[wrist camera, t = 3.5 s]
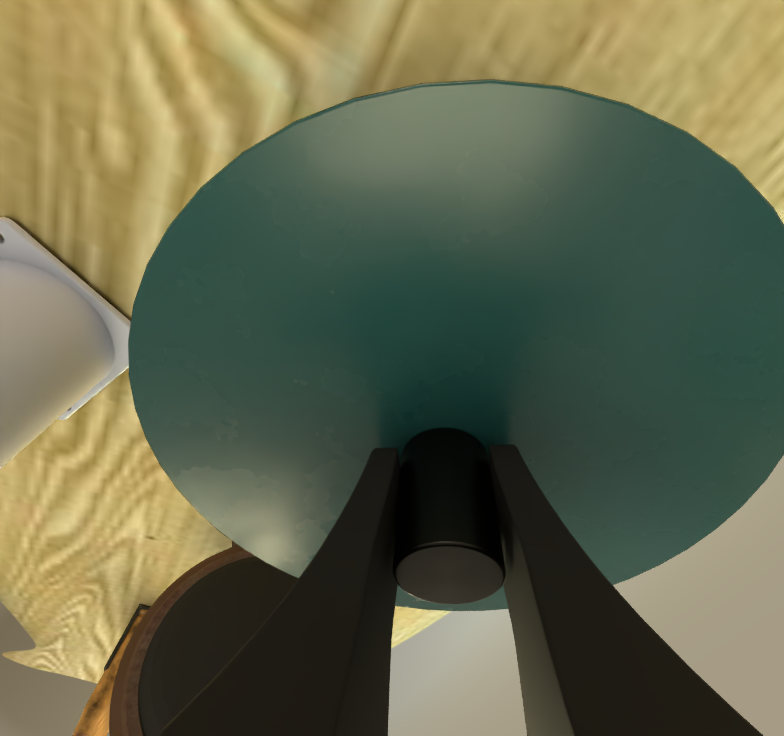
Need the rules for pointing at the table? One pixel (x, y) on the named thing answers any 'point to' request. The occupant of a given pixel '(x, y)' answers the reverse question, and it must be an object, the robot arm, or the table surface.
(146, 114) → the table surface
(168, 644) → the alarm clock
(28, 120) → the table surface
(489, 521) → the lid
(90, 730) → the ammunition clip
